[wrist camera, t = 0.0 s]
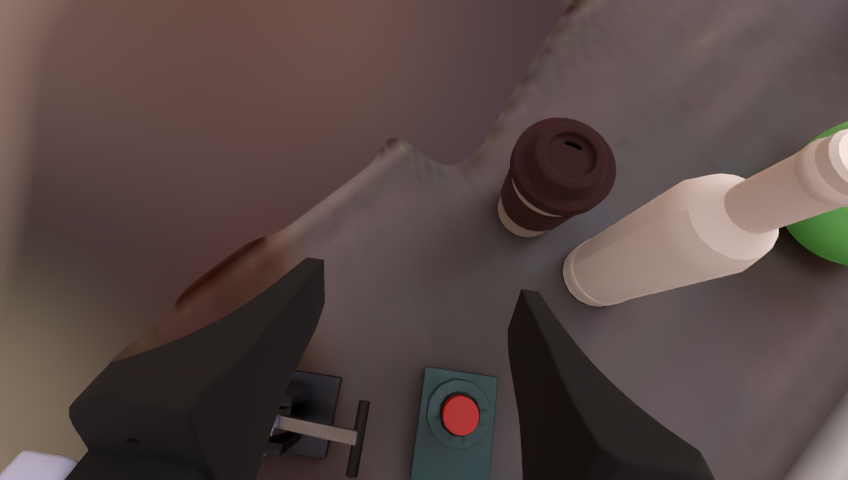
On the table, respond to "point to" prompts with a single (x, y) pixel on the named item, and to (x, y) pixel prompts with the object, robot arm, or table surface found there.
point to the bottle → (708, 226)
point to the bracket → (307, 413)
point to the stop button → (460, 415)
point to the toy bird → (825, 225)
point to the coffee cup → (554, 176)
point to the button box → (441, 449)
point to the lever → (328, 432)
